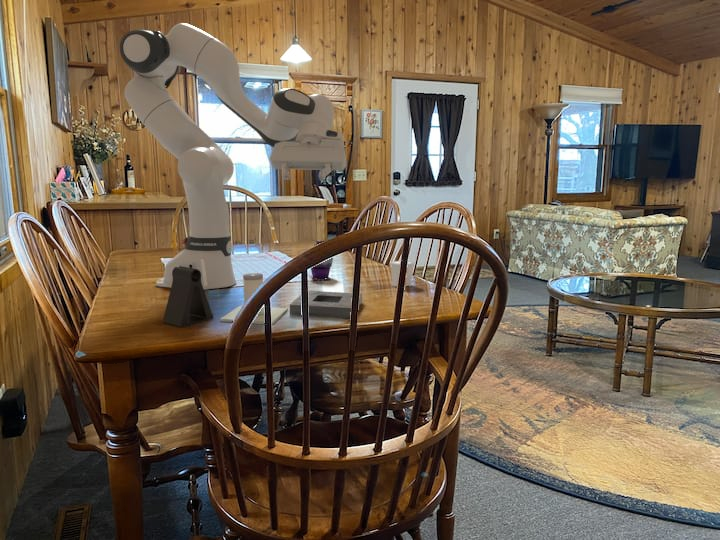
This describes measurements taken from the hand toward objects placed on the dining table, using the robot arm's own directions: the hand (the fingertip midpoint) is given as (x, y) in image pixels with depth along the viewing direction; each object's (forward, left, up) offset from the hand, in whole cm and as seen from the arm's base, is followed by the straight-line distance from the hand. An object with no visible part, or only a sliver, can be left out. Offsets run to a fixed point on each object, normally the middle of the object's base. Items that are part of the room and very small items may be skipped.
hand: (303, 178), depth 136 cm
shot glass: (+25, +21, -32) cm, 45 cm away
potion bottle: (-1, +26, -32) cm, 41 cm away
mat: (-6, -21, -31) cm, 38 cm away
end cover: (-6, -21, -31) cm, 38 cm away
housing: (+9, -11, -31) cm, 35 cm away
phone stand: (-19, -28, -32) cm, 47 cm away
